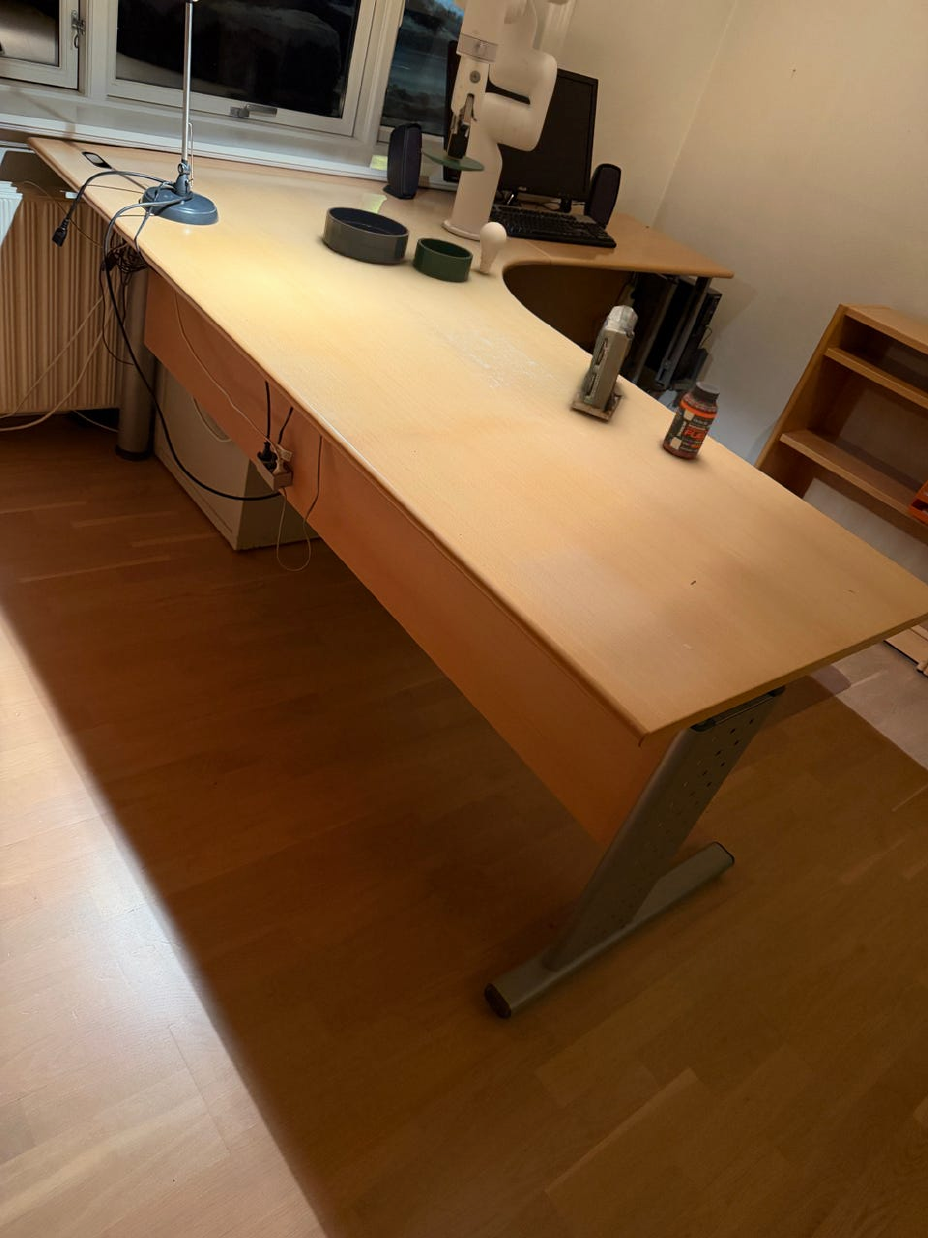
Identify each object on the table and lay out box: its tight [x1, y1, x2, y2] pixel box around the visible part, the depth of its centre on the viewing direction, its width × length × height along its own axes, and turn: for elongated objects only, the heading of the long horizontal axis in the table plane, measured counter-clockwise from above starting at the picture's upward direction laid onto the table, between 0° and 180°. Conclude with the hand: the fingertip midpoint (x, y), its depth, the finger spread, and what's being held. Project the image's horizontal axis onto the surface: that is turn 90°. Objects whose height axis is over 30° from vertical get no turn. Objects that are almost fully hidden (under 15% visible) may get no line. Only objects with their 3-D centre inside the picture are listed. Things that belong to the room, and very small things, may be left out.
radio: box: [571, 304, 639, 421], centre depth 144 cm, size 23×9×15 cm, turn 158°
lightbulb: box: [479, 221, 508, 274], centre depth 189 cm, size 6×6×11 cm
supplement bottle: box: [662, 381, 721, 459], centre depth 134 cm, size 6×6×11 cm
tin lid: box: [420, 128, 485, 172], centre depth 169 cm, size 13×13×6 cm
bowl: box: [322, 206, 411, 265], centre depth 180 cm, size 18×18×6 cm
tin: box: [412, 237, 474, 283], centre depth 182 cm, size 12×13×5 cm
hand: (453, 154), depth 170 cm, fingers closed on tin lid, 3 cm apart
